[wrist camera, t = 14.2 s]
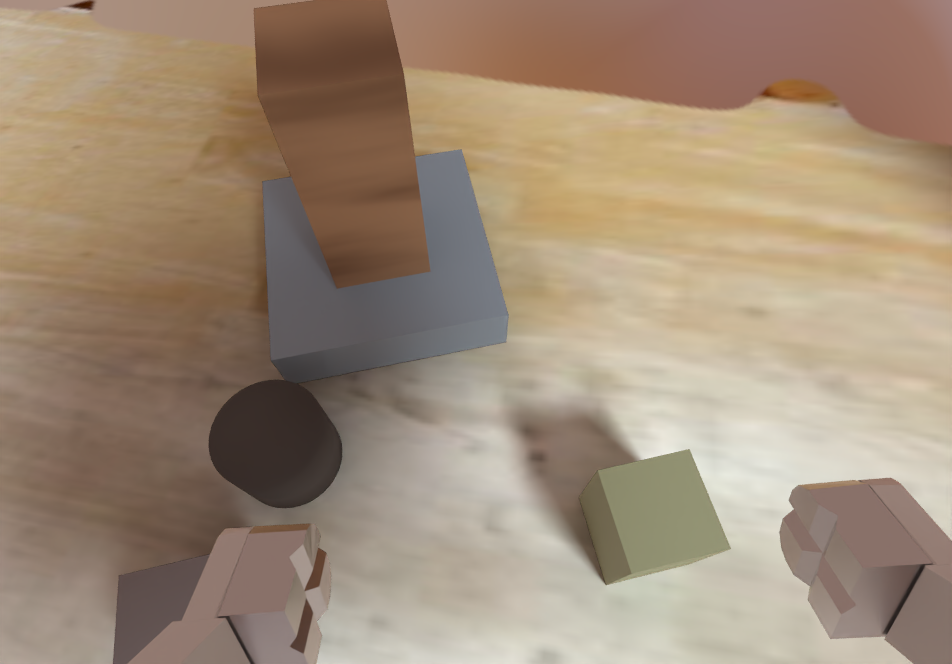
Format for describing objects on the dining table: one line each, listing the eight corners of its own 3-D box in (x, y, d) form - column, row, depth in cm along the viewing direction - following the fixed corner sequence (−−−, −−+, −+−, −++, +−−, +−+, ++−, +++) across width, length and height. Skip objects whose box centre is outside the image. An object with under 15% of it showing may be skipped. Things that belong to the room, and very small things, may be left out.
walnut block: (328, 216, 32) (253, 8, 21) (415, 201, 32) (383, -9, 22) (336, 288, 30) (257, 95, 19) (430, 271, 30) (403, 73, 20)
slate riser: (278, 215, 36) (262, 181, 33) (462, 184, 37) (461, 149, 34) (288, 384, 30) (270, 360, 28) (506, 342, 31) (508, 314, 29)
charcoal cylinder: (285, 394, 30) (259, 362, 27) (361, 439, 29) (345, 411, 25) (221, 476, 28) (184, 452, 25) (301, 527, 27) (274, 510, 23)
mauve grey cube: (173, 585, 26) (118, 575, 22) (271, 561, 26) (234, 548, 22) (170, 697, 24) (110, 708, 20) (276, 669, 24) (237, 674, 20)
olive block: (578, 497, 27) (597, 470, 23) (656, 479, 28) (689, 449, 23) (605, 585, 26) (631, 573, 21) (688, 564, 26) (731, 548, 22)
